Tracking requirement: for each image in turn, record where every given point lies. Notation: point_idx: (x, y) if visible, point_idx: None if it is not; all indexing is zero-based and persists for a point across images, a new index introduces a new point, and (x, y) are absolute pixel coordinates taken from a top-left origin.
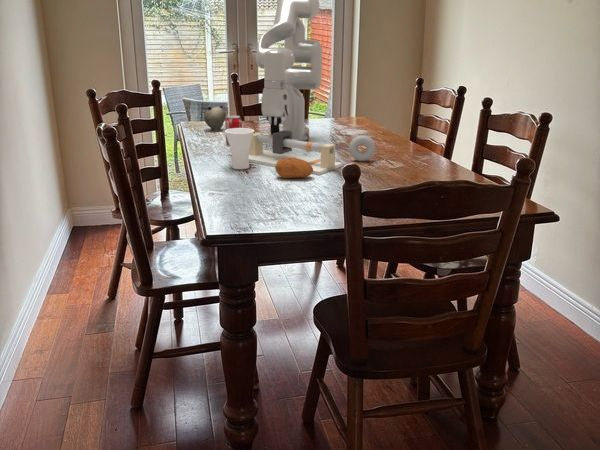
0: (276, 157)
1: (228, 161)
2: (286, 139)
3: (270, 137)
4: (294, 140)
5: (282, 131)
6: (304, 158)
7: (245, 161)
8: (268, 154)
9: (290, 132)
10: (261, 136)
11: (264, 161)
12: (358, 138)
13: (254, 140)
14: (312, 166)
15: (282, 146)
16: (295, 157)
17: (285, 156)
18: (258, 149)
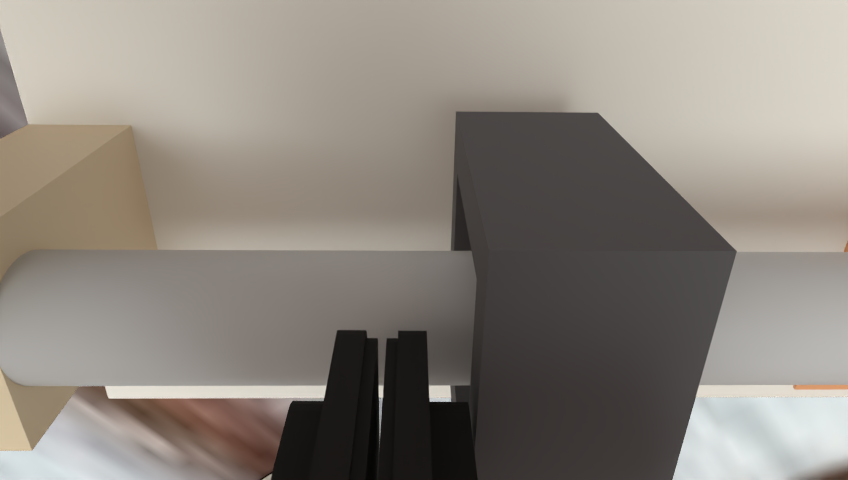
0: (412, 200)
1: (82, 447)
2: None
3: (310, 380)
4: (826, 369)
5: (527, 369)
6: (750, 36)
7: None
8: (231, 135)
9: (714, 298)
10: (114, 384)
11: None
12: None
13: (65, 391)
14: None
15: (459, 175)
16: (616, 61)
17: (474, 93)
18: (121, 241)
